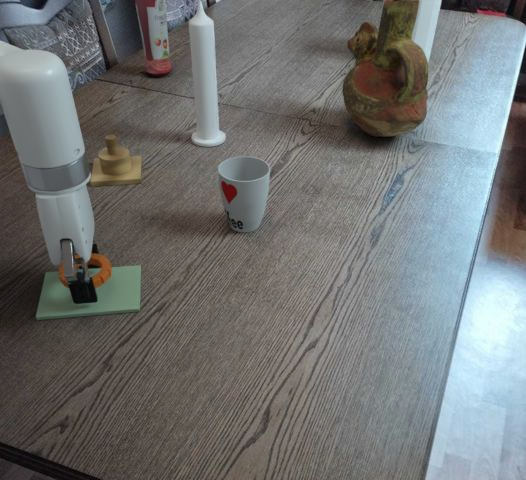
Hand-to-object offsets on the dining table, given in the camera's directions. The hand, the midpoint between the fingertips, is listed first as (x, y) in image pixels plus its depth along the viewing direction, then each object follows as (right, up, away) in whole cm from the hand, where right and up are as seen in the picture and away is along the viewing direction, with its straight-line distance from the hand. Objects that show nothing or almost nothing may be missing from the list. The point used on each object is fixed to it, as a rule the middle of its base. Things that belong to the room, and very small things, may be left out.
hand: (88, 283), depth 78 cm
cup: (+22, +12, +14) cm, 28 cm away
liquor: (-1, +60, +61) cm, 86 cm away
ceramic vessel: (+49, +38, +40) cm, 74 cm away
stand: (-3, +24, +25) cm, 35 cm away
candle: (+14, +34, +36) cm, 51 cm away
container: (+63, +69, +70) cm, 116 cm away
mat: (0, -1, +1) cm, 2 cm away
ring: (0, +1, -1) cm, 2 cm away
